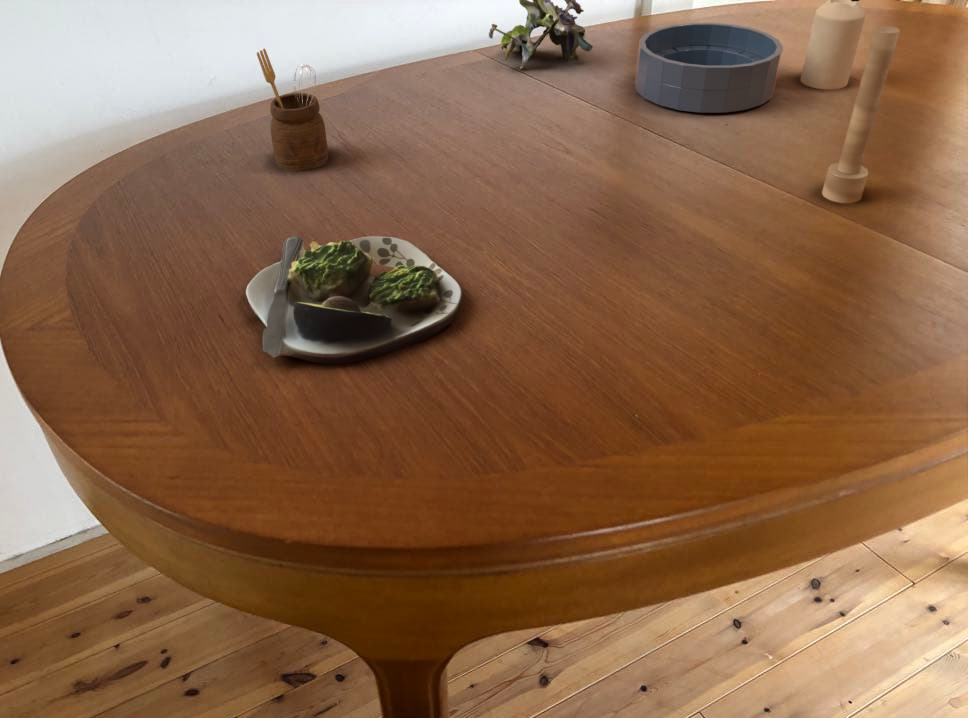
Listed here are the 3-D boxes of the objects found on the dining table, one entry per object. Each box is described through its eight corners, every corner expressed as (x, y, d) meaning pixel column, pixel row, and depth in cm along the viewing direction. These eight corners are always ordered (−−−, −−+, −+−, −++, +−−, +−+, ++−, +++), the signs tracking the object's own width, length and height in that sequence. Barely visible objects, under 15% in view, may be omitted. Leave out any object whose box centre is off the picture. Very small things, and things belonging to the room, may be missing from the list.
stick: (854, 190, 88) (903, 22, 78) (864, 207, 85) (915, 35, 75) (817, 190, 89) (860, 23, 78) (825, 206, 86) (871, 36, 76)
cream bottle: (835, 96, 107) (857, 8, 101) (791, 86, 110) (810, 1, 104) (854, 82, 110) (876, -3, 104) (811, 73, 113) (830, -10, 107)
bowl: (759, 70, 115) (768, 22, 111) (783, 119, 102) (795, 67, 98) (630, 70, 117) (635, 23, 113) (639, 119, 104) (645, 67, 100)
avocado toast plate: (209, 278, 80) (198, 233, 77) (386, 227, 86) (383, 183, 83) (283, 394, 67) (273, 344, 64) (487, 325, 73) (487, 276, 70)
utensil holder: (313, 178, 95) (298, 65, 88) (263, 170, 98) (244, 59, 90) (339, 156, 100) (326, 46, 92) (290, 149, 102) (274, 41, 94)
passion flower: (564, 100, 124) (615, 37, 114) (505, 106, 118) (554, 40, 108) (528, 36, 126) (575, -31, 116) (469, 38, 120) (513, -32, 110)
